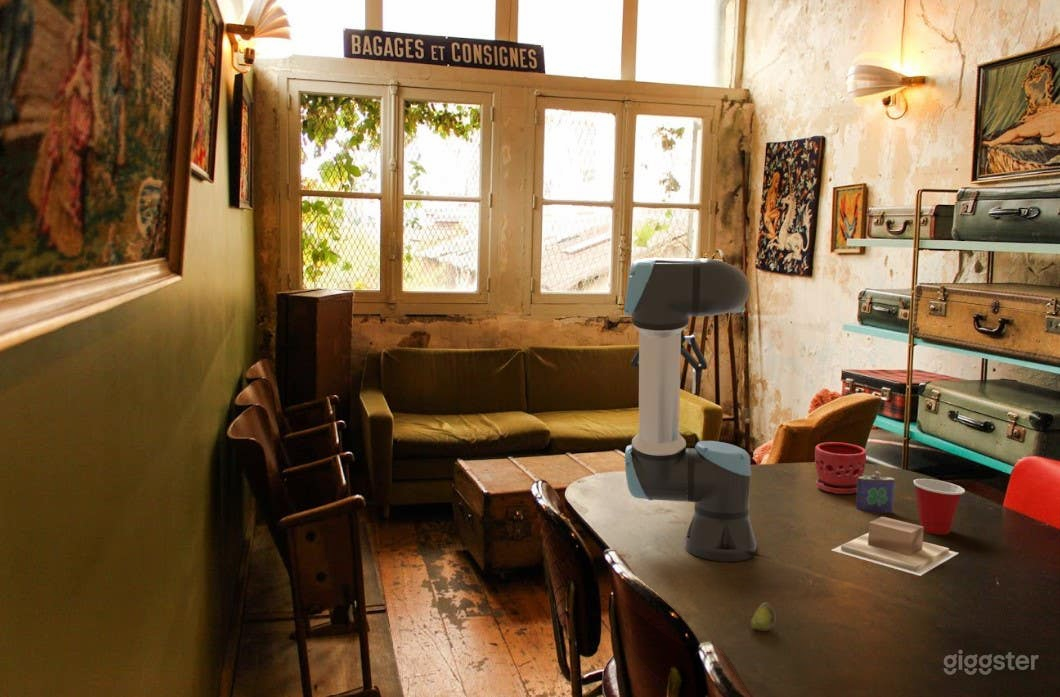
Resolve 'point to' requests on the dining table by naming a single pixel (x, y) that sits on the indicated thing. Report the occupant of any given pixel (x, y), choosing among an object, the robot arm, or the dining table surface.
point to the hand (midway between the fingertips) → (668, 390)
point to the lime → (764, 617)
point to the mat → (919, 572)
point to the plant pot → (839, 466)
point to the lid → (896, 544)
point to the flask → (875, 494)
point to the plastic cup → (937, 504)
